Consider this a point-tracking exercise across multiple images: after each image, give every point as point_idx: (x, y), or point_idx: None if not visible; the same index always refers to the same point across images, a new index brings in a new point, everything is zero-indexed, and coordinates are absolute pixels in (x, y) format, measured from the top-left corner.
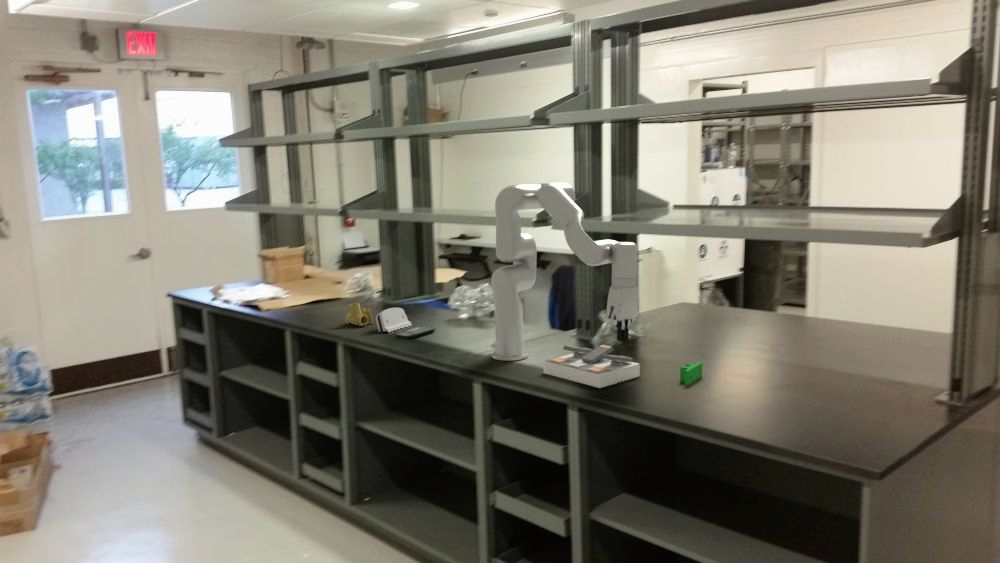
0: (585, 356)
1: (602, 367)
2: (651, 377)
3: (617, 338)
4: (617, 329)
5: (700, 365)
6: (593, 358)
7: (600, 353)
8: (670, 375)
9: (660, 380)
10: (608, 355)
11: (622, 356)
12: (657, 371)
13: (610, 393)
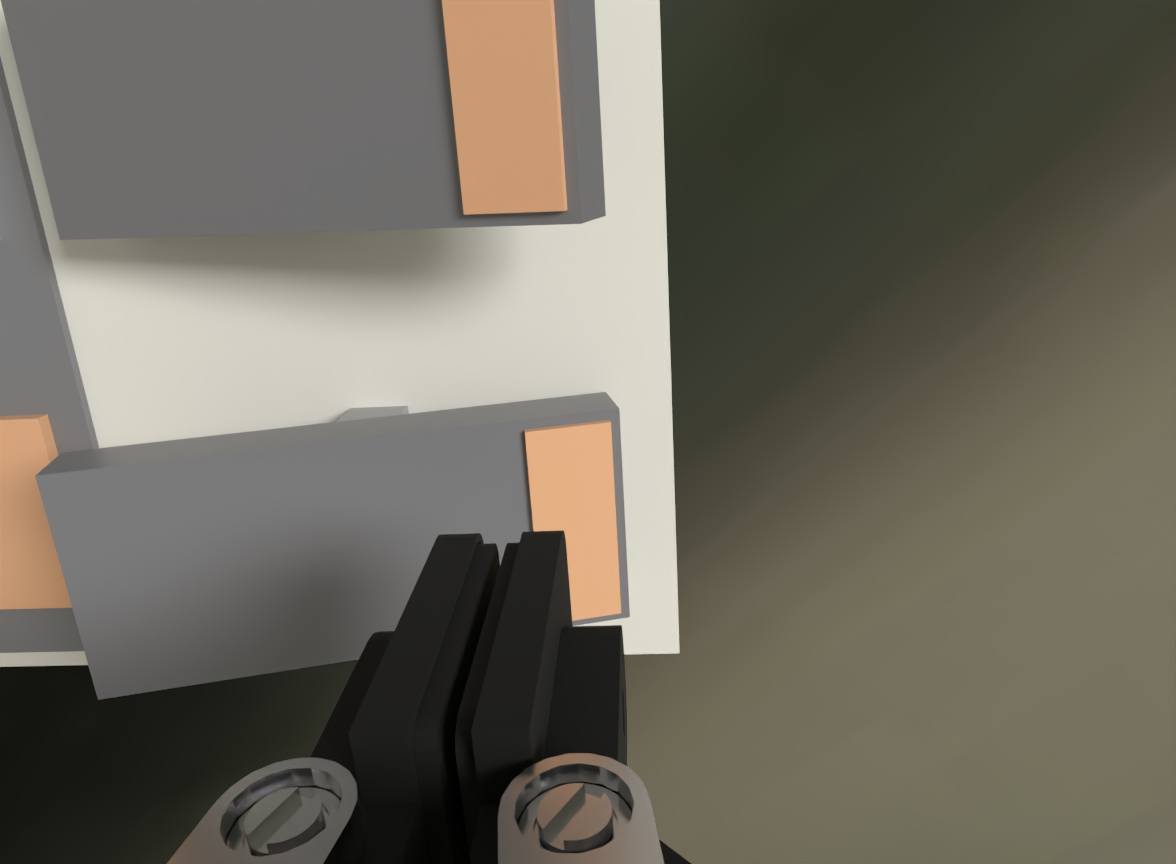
0: (60, 4)
1: None
2: (732, 674)
3: (431, 566)
4: (363, 712)
5: None
6: (106, 222)
7: (271, 202)
8: (939, 752)
9: (707, 792)
10: (116, 599)
11: (529, 506)
12: (992, 567)
13: (27, 754)
